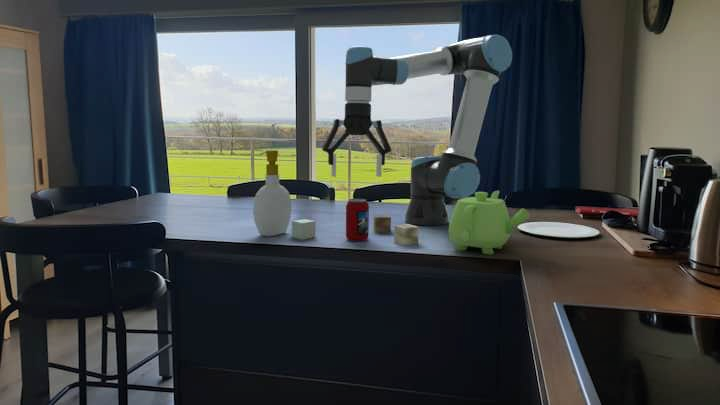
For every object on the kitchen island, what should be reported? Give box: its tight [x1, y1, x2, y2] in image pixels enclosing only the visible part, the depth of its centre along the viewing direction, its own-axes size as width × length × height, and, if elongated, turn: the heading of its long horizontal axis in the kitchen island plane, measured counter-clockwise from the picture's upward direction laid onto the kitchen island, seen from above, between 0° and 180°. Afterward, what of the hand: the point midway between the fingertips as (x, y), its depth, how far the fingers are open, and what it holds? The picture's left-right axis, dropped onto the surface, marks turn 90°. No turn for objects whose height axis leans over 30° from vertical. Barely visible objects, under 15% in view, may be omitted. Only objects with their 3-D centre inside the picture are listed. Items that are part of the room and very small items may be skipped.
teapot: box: [448, 190, 531, 255], centre depth 149 cm, size 25×22×16 cm
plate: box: [517, 221, 601, 240], centre depth 173 cm, size 25×25×2 cm
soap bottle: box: [252, 149, 292, 238], centre depth 165 cm, size 14×9×26 cm, turn 146°
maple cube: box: [393, 223, 420, 246], centre depth 156 cm, size 5×5×5 cm
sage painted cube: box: [291, 218, 316, 240], centre depth 163 cm, size 5×5×5 cm
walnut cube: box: [373, 214, 392, 234], centre depth 173 cm, size 5×5×5 cm
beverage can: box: [345, 198, 370, 242], centre depth 159 cm, size 7×7×12 cm
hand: (356, 176), depth 157 cm, fingers open, 13 cm apart
